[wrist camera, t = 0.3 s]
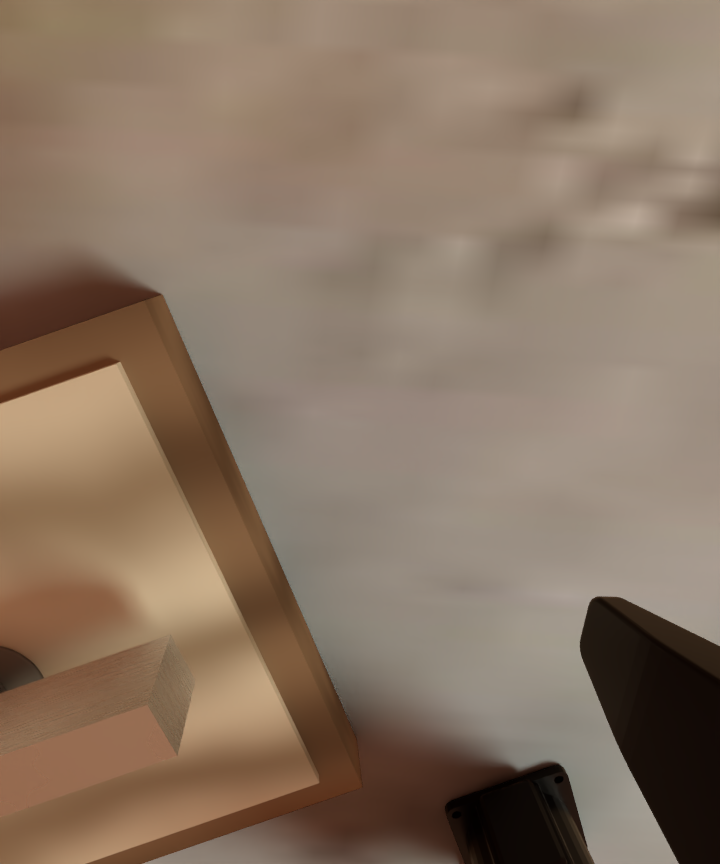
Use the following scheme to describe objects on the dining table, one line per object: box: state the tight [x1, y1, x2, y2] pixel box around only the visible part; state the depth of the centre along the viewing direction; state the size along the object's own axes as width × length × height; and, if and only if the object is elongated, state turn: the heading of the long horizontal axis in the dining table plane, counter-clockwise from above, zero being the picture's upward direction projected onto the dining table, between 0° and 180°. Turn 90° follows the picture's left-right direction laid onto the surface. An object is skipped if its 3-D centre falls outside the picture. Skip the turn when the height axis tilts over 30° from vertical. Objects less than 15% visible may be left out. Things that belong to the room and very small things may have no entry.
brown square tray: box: [0, 295, 363, 864], centre depth 22 cm, size 22×22×3 cm
